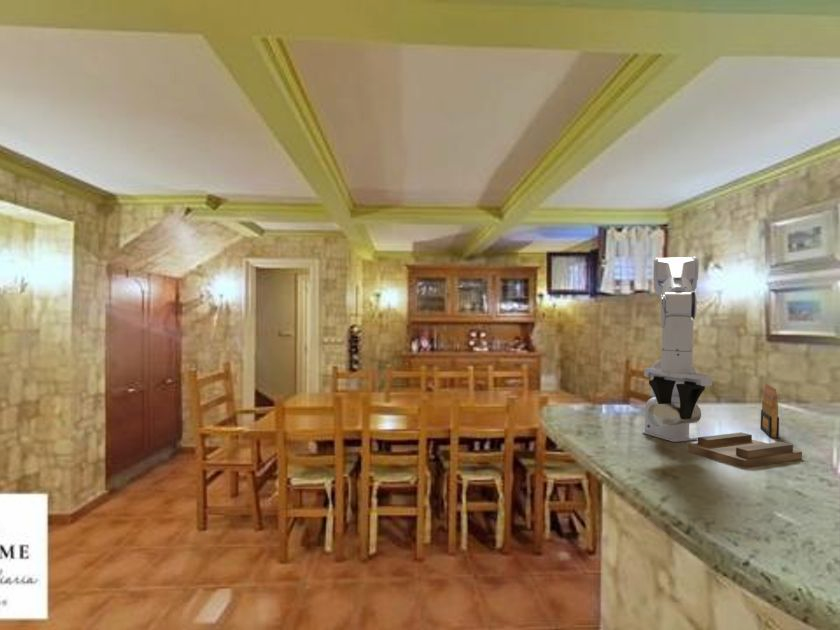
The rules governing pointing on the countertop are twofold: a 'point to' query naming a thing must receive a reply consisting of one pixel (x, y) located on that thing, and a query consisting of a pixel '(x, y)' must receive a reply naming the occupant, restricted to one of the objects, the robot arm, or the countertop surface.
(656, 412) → the steel axle
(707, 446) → the cradle block
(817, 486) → the countertop surface
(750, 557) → the countertop surface
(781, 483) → the countertop surface
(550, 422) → the countertop surface
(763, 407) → the ammunition clip
